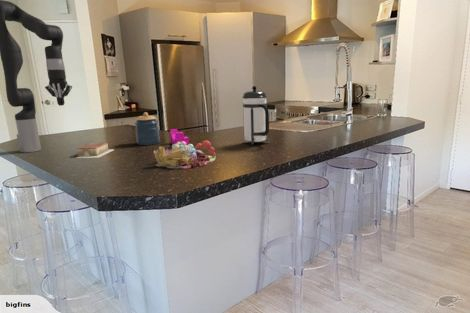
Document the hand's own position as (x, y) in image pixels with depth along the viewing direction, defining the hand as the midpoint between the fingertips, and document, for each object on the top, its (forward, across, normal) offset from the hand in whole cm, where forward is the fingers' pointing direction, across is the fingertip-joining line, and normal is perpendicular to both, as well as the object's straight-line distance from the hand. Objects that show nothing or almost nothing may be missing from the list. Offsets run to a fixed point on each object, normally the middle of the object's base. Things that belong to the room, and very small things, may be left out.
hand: (61, 105), depth 164 cm
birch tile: (+22, +9, -1) cm, 24 cm away
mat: (+24, +15, -1) cm, 29 cm away
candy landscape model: (+24, +65, -21) cm, 72 cm away
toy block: (+24, +53, +20) cm, 62 cm away
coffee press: (+24, +96, +17) cm, 100 cm away
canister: (+24, +34, +24) cm, 48 cm away
